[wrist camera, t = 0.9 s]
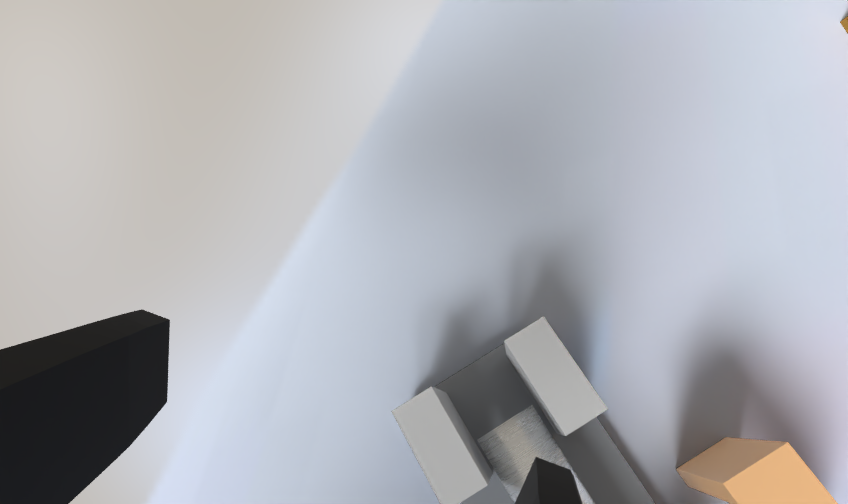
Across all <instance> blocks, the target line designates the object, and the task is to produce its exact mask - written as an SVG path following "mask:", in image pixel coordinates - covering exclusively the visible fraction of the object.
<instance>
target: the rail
mask: <svg viewBox="0 0 848 504" xmlns="http://www.w3.org/2000/svg"><path fill="white" fill-rule="evenodd" d="M531 405H533V407H534V409H535V410H536V412H537V413H538V415H539V416H540V418H541V420H542V421H543V423H544V424H545V426H546V427H547V429H548V430H549V432H550V434H551V435H552V437H553V438H554V440H555V441H556V443H557V445H558V446H559V448H560V449H561V451H562V452H563V454H564V456H565V457H566V459H567V460H568V462H569V463H570V465H571V467H572V468H573V470H574V471H575V473H576V474H577V476H578V477H579V479H580V481H581V482H582V484H583V485H584V487H585V488H586V490H587V492H588V493H589V495H590V496H591V498H592V499H593V501H594V503H595V504H655V502H654V501H653V499H652V498H651V496H650V495H649V494H648V492H647V491H646V489H645V488H644V486H643V485H642V483H641V482H640V480H639V479H638V477H637V476H636V474H635V473H634V471H633V470H632V469H631V467H630V466H629V464H628V463H627V461H626V460H625V458H624V457H623V455H622V454H621V452H620V451H619V449H618V448H617V446H616V445H615V444H614V442H613V441H612V439H611V438H610V436H609V435H608V433H607V432H606V430H605V429H604V427H603V426H602V424H601V423H600V421H599V420H598V419H597V416H598V415H600V414H602V413H603V412H605V411H606V410H608V408H607V407H606V405H605V404H604V403H603V401H602V400H601V398H600V397H599V395H598V394H597V392H596V391H595V390H594V388H593V387H592V385H591V384H590V382H589V381H588V379H587V378H586V377H585V375H584V374H583V372H582V371H581V369H580V368H579V366H578V365H577V364H576V362H575V361H574V359H573V358H572V356H571V355H570V353H569V352H568V351H567V349H566V348H565V346H564V345H563V343H562V342H561V340H560V339H559V338H558V336H557V335H556V333H555V332H554V330H553V329H552V328H551V326H550V325H549V323H548V322H547V320H546V319H545V317H544V316H543V317H541V318H540V319H538V320H536V321H535V322H533V323H532V324H530V325H529V326H527V327H525V328H524V329H522V330H521V331H519V332H517V333H516V334H514V335H513V336H511V337H509V338H508V339H506V340H505V341H504V344H502V345H500V346H499V347H497V348H496V349H494V350H492V351H491V352H489V353H488V354H486V355H484V356H483V357H481V358H480V359H478V360H476V361H475V362H473V363H472V364H470V365H468V366H467V367H465V368H464V369H462V370H460V371H459V372H457V373H456V374H454V375H452V376H451V377H449V378H448V379H446V380H444V381H443V382H441V383H440V384H438V385H436V386H435V387H432V386H431V387H429V388H428V389H426V390H425V391H423V392H421V393H420V394H418V395H417V396H415V397H413V398H412V399H410V400H409V401H407V402H405V403H404V404H402V405H401V406H399V407H397V408H396V409H394V410H393V411H391V412H392V413H393V415H394V417H395V419H396V421H397V423H398V425H399V427H400V429H401V430H402V432H403V434H404V436H405V438H406V440H407V442H408V444H409V446H410V447H411V449H412V451H413V453H414V455H415V457H416V459H417V461H418V462H419V464H420V466H421V468H422V470H423V472H424V474H425V476H426V478H427V479H428V481H429V483H430V485H431V487H432V489H433V491H434V493H435V495H436V496H437V498H438V500H439V502H440V504H459V503H461V504H514V503H513V501H512V499H511V498H510V496H509V494H508V492H507V491H506V489H505V487H504V485H503V484H502V482H501V480H500V479H499V477H498V475H497V473H496V472H495V470H494V468H493V467H492V465H491V463H490V461H489V460H488V458H487V456H486V455H485V453H484V451H483V449H482V448H481V446H480V444H479V442H478V441H477V439H479V438H480V437H482V436H483V435H485V434H487V433H488V432H490V431H491V430H493V429H494V428H496V427H498V426H499V425H501V424H502V423H504V422H506V421H507V420H509V419H510V418H512V417H514V416H515V415H517V414H518V413H520V412H522V411H523V410H525V409H526V408H528V407H530V406H531Z"/></svg>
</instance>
